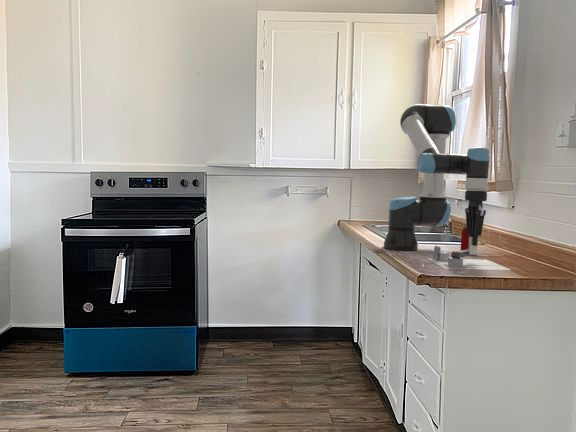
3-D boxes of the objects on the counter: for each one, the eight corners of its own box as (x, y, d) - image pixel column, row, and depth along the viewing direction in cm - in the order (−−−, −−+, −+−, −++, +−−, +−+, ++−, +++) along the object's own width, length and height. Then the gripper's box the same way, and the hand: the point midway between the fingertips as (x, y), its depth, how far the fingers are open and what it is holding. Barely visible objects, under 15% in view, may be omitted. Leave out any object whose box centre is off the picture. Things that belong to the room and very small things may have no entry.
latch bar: (457, 258, 180) (458, 252, 179) (449, 257, 182) (450, 251, 181) (476, 254, 191) (477, 247, 191) (469, 253, 193) (469, 246, 193)
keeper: (432, 258, 197) (433, 245, 197) (445, 259, 197) (446, 246, 197) (435, 260, 194) (436, 247, 193) (448, 260, 194) (449, 247, 193)
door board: (426, 261, 198) (427, 258, 198) (486, 262, 199) (486, 259, 199) (445, 271, 178) (445, 268, 178) (511, 272, 179) (511, 269, 179)
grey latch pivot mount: (443, 264, 185) (444, 256, 185) (459, 265, 185) (460, 257, 185) (449, 268, 179) (450, 259, 179) (466, 268, 179) (466, 260, 179)
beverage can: (477, 256, 213) (478, 228, 211) (460, 255, 215) (461, 227, 214) (476, 253, 219) (478, 226, 218) (460, 252, 221) (461, 225, 220)
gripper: (494, 190, 178) (490, 257, 180) (478, 190, 191) (475, 251, 192) (473, 190, 178) (469, 256, 179) (459, 189, 190) (456, 251, 192)
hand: (472, 254), depth 186 cm, fingers closed
